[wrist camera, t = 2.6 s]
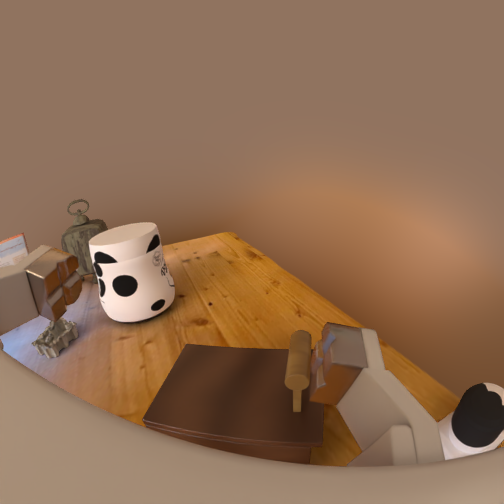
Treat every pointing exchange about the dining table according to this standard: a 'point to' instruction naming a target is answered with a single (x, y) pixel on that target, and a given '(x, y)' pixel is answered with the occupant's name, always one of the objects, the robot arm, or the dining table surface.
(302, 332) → the chest lid
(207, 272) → the dining table surface
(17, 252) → the cracker box
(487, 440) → the medicine bottle
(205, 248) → the dining table surface
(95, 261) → the milk container
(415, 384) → the dining table surface
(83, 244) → the tabletop clock
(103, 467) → the robot arm
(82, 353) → the dining table surface
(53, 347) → the egg carton
